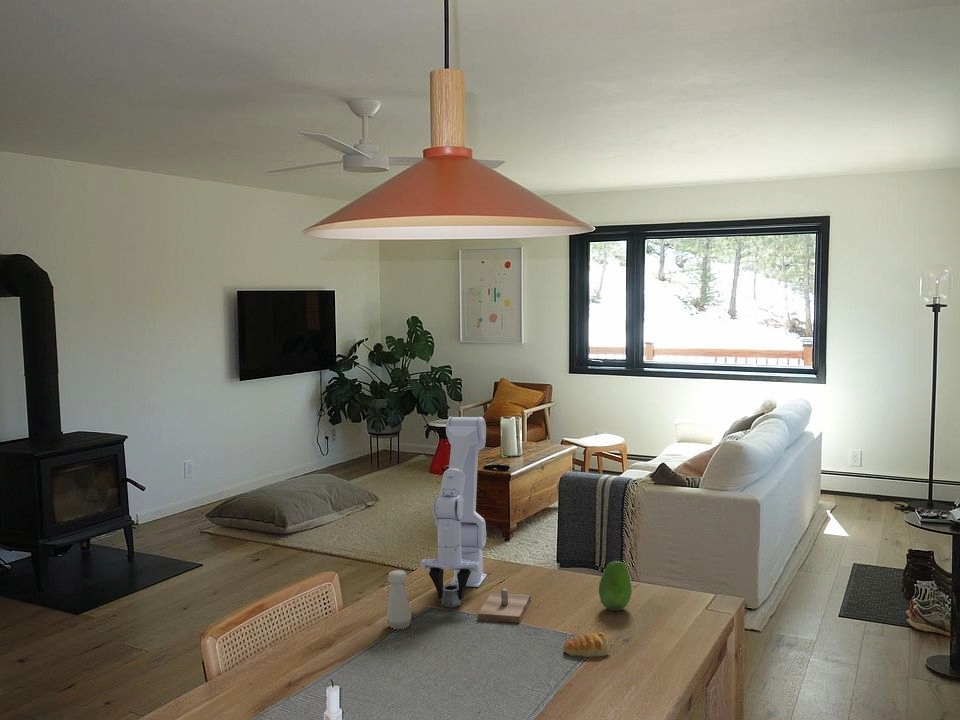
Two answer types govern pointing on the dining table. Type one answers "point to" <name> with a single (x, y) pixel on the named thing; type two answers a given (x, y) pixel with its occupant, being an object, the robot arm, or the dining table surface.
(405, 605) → the salt shaker
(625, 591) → the avocado
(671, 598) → the dining table surface
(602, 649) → the pastry
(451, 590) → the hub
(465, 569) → the robot arm
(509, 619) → the shaft block
